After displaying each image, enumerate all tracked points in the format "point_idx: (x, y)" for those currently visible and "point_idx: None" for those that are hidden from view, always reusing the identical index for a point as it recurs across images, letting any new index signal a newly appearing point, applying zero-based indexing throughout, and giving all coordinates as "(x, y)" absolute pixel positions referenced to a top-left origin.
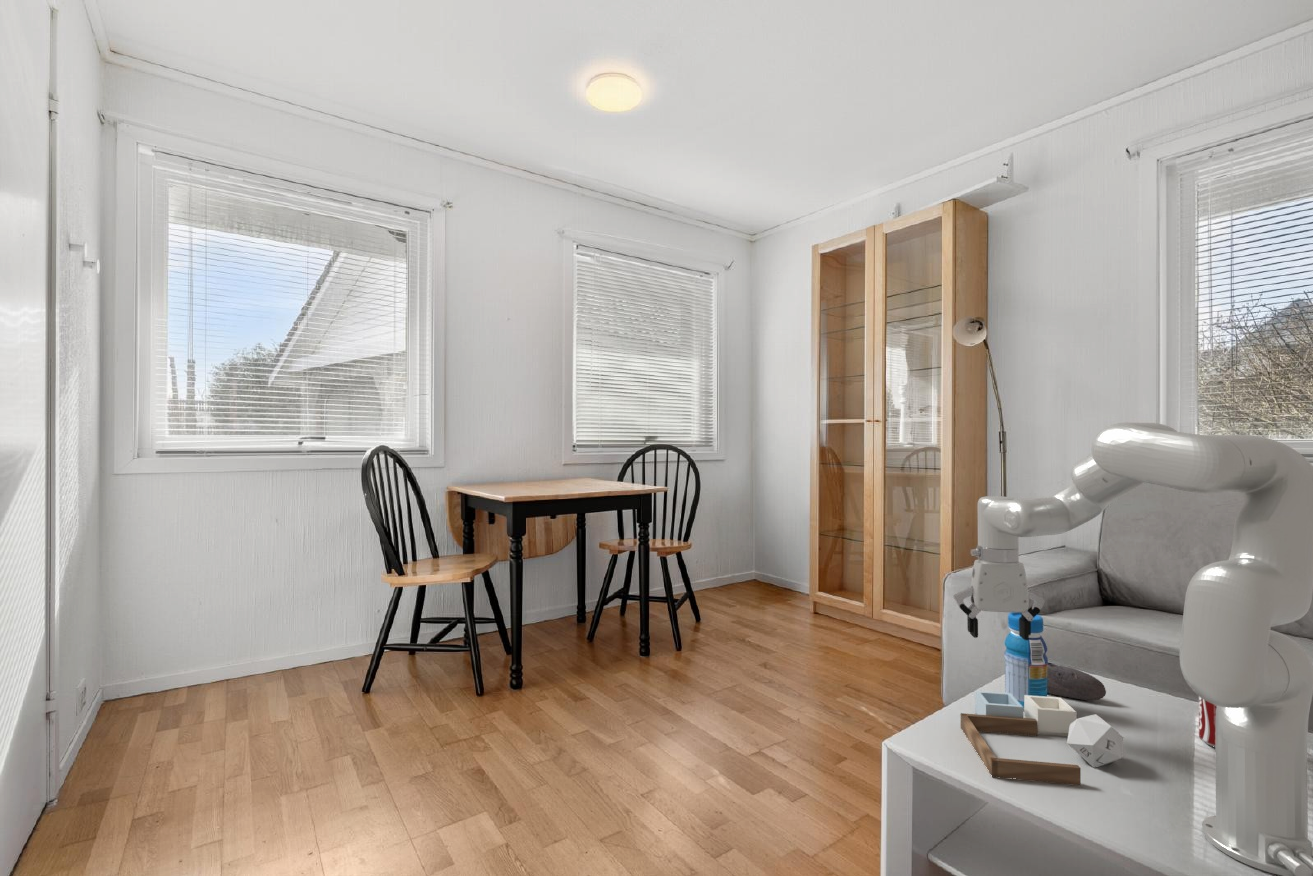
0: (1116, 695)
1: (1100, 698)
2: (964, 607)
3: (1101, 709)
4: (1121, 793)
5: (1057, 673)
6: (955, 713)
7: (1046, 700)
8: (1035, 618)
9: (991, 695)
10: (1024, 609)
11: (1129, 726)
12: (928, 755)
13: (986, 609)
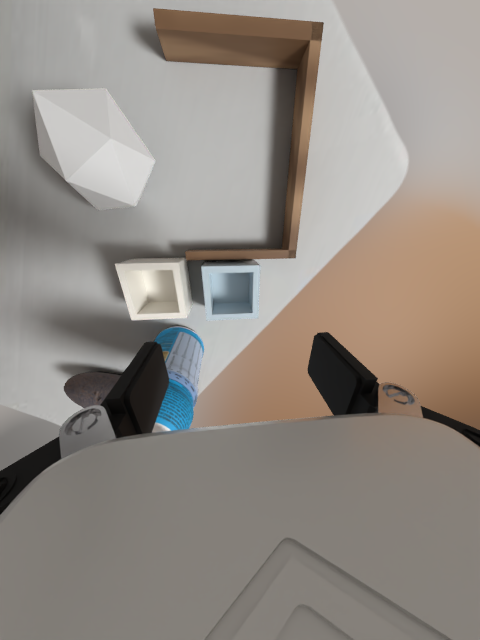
0: (65, 395)
1: (82, 373)
2: (477, 440)
3: (88, 353)
4: (96, 19)
5: None
6: (277, 301)
7: (155, 312)
8: None
9: (236, 312)
10: (64, 470)
11: (57, 311)
12: (374, 138)
13: (394, 419)
